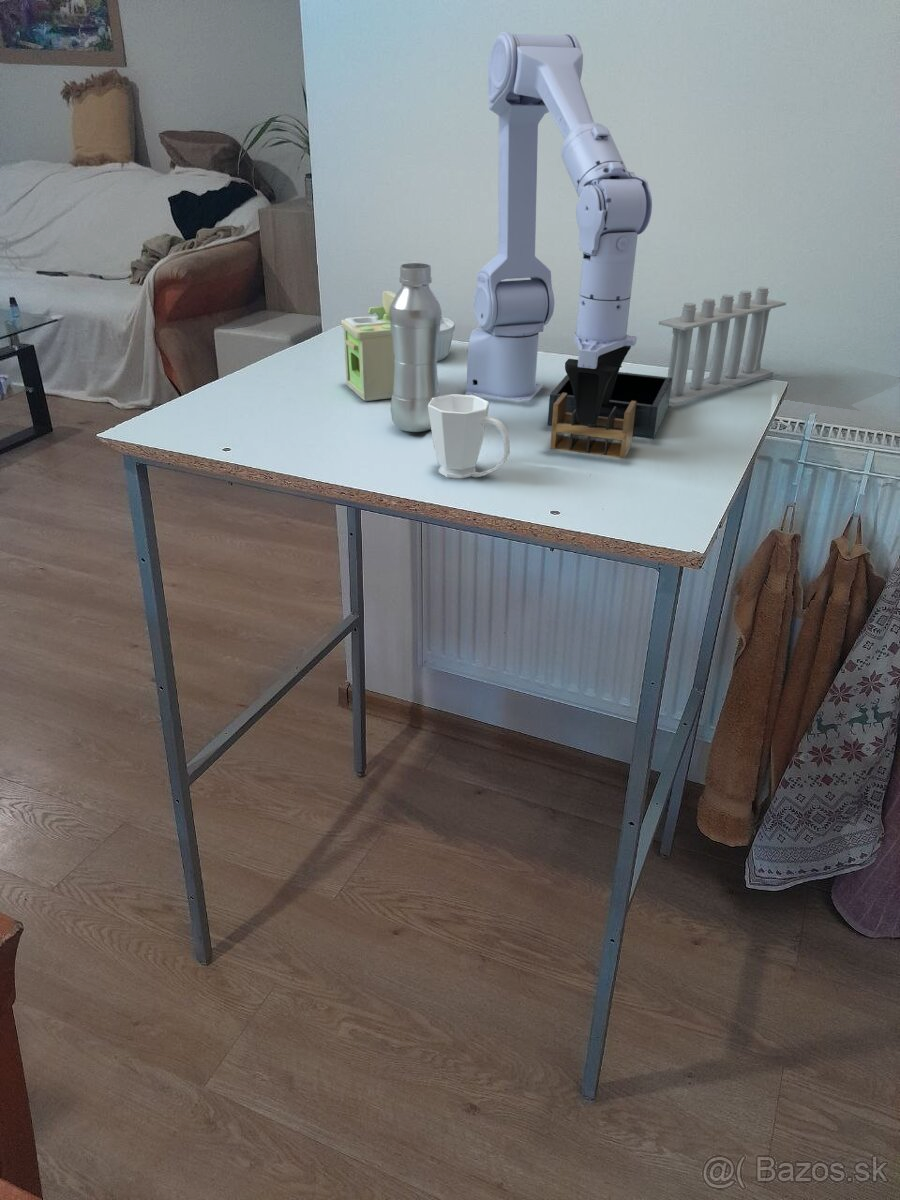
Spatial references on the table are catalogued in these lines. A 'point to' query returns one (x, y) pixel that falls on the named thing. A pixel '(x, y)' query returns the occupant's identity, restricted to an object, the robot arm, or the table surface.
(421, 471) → the table surface
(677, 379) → the test tube rack
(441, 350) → the ramekin
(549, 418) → the dark grey open box
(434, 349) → the silver bottle
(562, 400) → the dish rack
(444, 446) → the cup
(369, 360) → the toy sink
